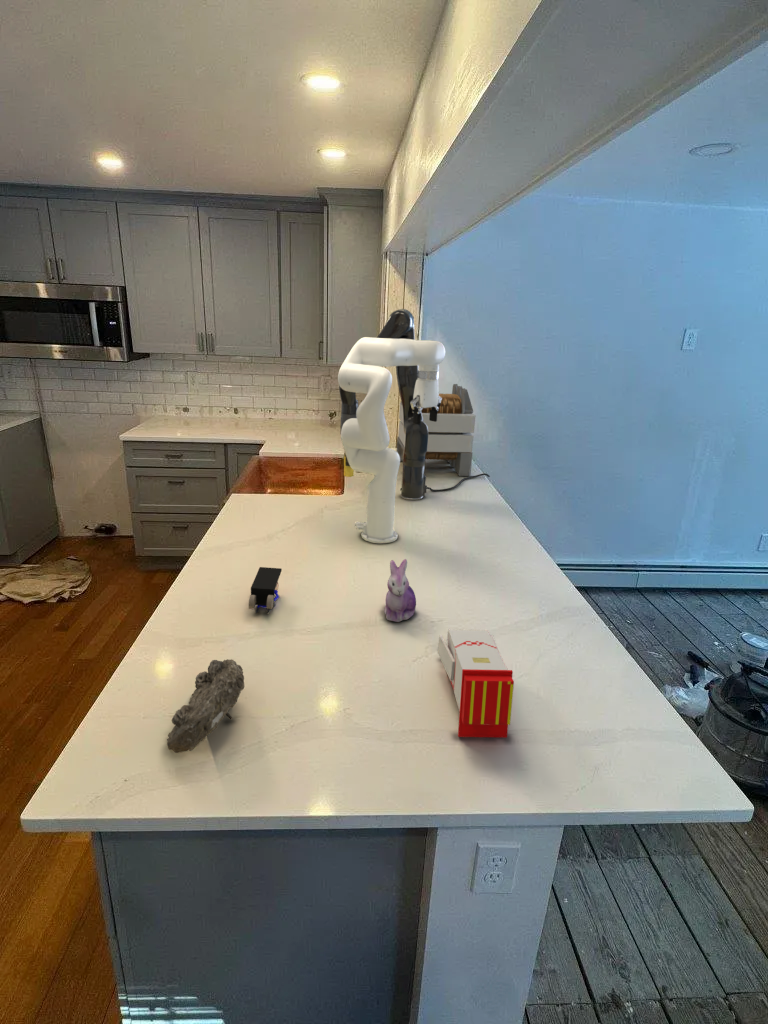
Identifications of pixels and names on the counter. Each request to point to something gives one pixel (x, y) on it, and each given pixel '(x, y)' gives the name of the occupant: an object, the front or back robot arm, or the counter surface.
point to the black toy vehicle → (264, 588)
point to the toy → (478, 682)
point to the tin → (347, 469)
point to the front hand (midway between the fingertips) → (424, 422)
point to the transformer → (447, 431)
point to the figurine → (399, 594)
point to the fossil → (206, 705)
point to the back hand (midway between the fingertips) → (348, 464)
